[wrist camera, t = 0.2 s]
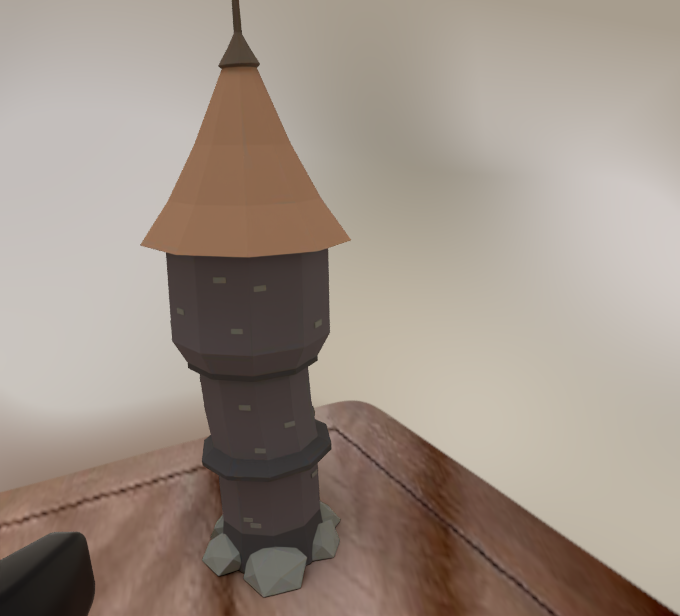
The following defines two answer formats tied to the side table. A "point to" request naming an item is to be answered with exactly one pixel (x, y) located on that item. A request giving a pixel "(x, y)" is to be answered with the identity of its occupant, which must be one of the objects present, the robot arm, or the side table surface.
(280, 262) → the model tower
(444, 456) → the side table surface
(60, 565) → the robot arm
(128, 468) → the side table surface
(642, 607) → the side table surface
